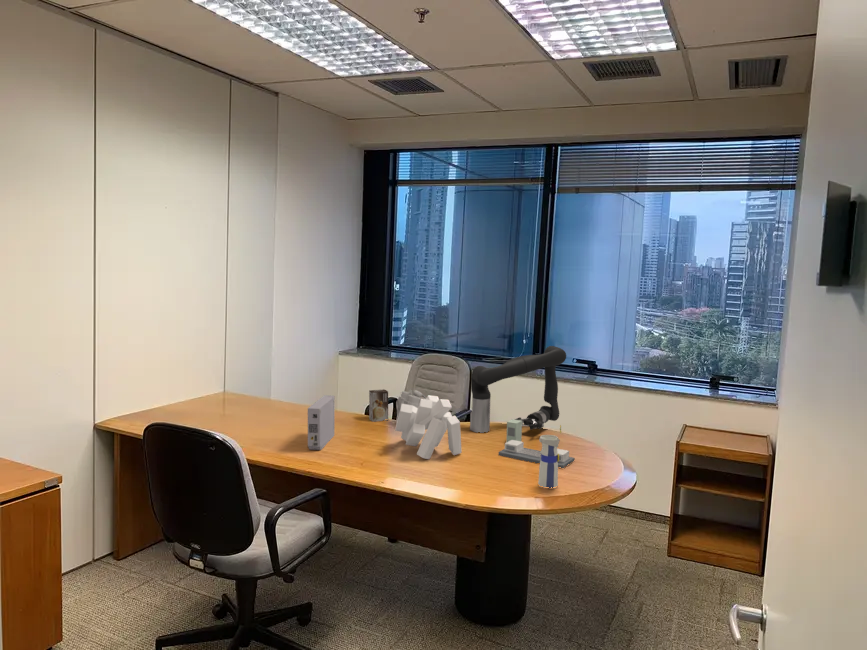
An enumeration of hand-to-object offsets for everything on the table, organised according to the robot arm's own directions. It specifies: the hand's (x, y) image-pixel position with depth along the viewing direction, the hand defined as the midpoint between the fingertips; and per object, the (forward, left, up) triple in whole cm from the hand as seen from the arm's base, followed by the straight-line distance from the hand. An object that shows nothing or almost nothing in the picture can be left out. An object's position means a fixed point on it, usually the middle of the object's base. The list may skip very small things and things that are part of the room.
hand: (522, 426), depth 311 cm
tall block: (0, -9, -7) cm, 11 cm away
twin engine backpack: (-56, -11, -7) cm, 57 cm away
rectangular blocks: (+18, -23, -4) cm, 30 cm away
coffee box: (-79, -14, -7) cm, 81 cm away
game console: (-74, -63, -7) cm, 97 cm away
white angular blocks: (-27, -44, -7) cm, 52 cm away
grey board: (+18, -23, -7) cm, 30 cm away
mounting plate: (+18, -23, -5) cm, 30 cm away
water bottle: (+36, -51, -7) cm, 63 cm away
